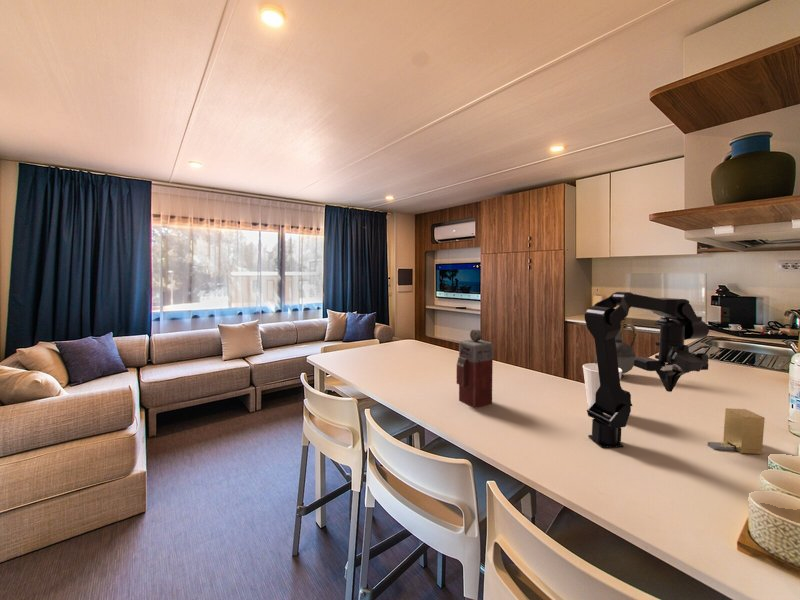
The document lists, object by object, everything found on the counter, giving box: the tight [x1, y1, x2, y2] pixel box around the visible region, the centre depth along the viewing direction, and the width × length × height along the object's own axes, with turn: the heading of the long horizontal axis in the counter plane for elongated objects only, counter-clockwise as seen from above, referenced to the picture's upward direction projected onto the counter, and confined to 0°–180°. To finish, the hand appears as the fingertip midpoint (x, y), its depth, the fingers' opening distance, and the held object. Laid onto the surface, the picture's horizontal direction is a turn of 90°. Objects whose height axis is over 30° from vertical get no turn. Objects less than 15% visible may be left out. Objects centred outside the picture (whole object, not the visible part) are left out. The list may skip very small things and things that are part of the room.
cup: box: [582, 362, 623, 417], centre depth 115 cm, size 12×12×16 cm
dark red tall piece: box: [456, 328, 494, 409], centre depth 125 cm, size 9×11×28 cm
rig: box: [707, 441, 738, 452], centre depth 94 cm, size 13×9×6 cm, turn 83°
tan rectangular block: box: [722, 407, 766, 455], centre depth 91 cm, size 5×6×10 cm
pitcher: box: [595, 317, 638, 379], centre depth 156 cm, size 11×19×30 cm, turn 102°
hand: (668, 391), depth 100 cm, fingers closed
